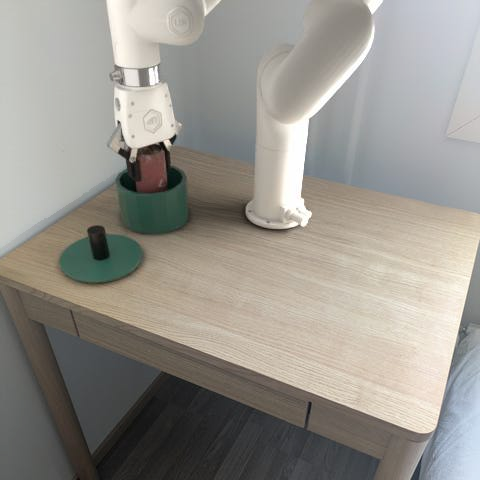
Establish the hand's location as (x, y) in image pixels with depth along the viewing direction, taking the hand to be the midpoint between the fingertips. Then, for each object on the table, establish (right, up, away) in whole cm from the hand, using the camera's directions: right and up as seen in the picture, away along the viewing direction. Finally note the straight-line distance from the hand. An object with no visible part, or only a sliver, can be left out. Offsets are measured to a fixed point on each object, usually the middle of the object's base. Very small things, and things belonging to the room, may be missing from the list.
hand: (150, 173), depth 95 cm
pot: (0, -7, +6) cm, 9 cm away
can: (0, -7, +6) cm, 9 cm away
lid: (-8, -17, -6) cm, 20 cm away
